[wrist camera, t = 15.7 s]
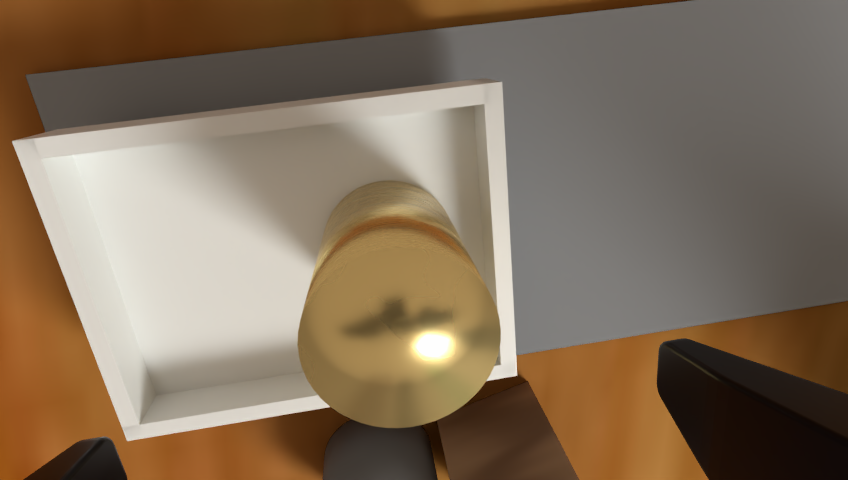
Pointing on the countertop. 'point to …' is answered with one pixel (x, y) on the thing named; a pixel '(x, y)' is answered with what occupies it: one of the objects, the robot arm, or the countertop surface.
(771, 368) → the robot arm
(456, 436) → the walnut block
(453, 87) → the white shallow tray
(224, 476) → the countertop surface
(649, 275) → the lane mat
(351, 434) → the grey small block
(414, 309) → the small wooden cylinder
